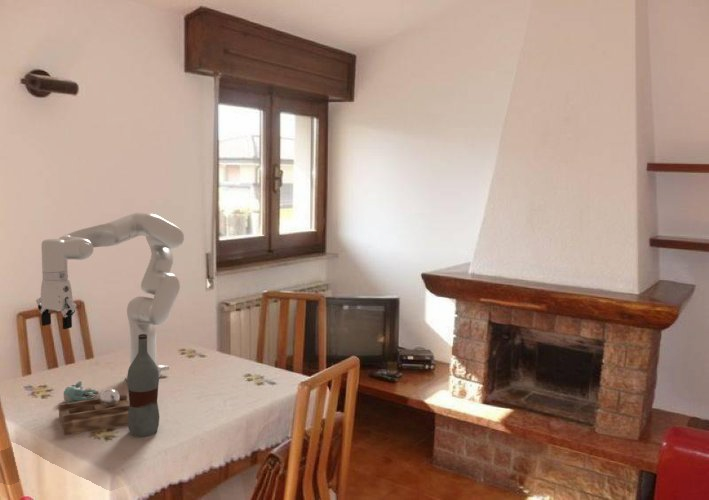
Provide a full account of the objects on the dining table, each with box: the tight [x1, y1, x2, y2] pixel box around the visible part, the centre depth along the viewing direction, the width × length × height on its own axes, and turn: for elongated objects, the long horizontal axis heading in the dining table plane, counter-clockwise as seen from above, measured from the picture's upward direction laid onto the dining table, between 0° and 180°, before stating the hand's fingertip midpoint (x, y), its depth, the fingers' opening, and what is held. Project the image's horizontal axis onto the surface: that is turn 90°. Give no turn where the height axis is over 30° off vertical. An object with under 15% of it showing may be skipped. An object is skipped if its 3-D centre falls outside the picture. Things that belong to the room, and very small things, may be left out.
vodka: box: [126, 334, 160, 438], centre depth 179 cm, size 9×9×30 cm
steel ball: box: [99, 387, 121, 408], centre depth 190 cm, size 6×6×6 cm
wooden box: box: [58, 394, 130, 436], centre depth 188 cm, size 20×16×5 cm
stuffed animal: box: [63, 381, 100, 403], centre depth 205 cm, size 11×7×12 cm
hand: (56, 326), depth 199 cm, fingers open, 9 cm apart
